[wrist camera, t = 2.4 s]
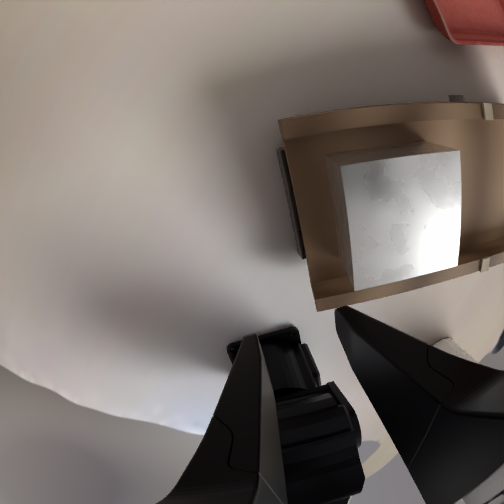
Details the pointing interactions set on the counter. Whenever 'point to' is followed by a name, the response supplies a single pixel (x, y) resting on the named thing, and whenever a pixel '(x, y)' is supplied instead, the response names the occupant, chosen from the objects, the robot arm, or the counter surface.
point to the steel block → (396, 210)
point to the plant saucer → (469, 20)
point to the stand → (291, 201)
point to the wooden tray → (387, 133)
